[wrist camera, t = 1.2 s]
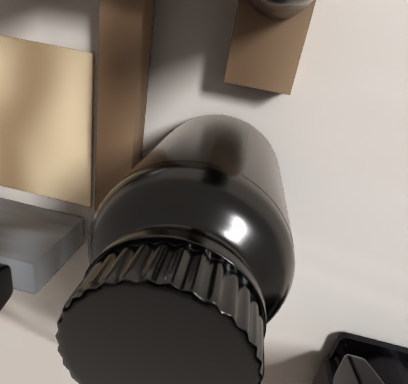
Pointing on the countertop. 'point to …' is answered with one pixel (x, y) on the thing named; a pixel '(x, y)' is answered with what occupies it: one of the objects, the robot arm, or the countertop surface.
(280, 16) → the bar
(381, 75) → the countertop surface
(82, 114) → the press base
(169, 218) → the supplement bottle
